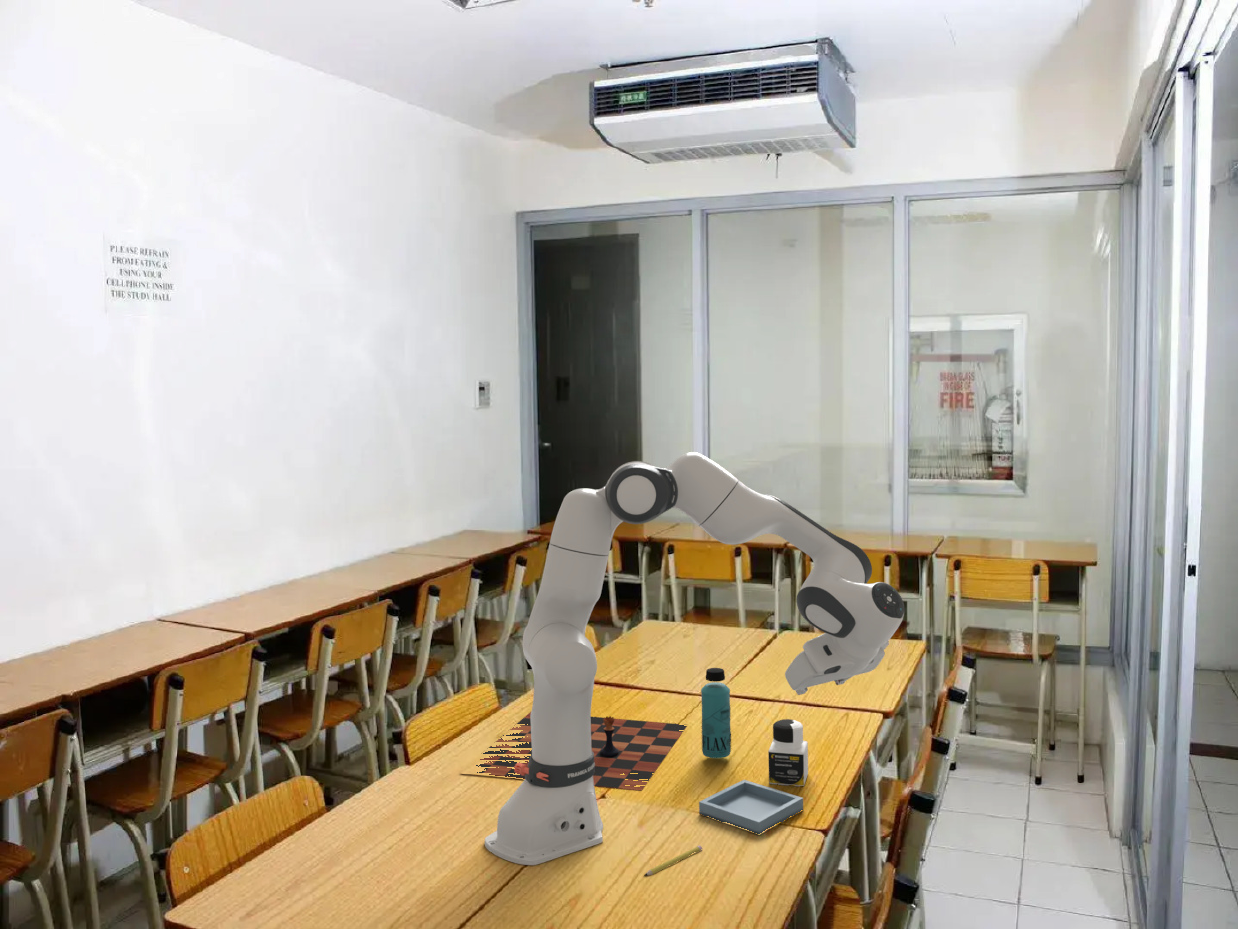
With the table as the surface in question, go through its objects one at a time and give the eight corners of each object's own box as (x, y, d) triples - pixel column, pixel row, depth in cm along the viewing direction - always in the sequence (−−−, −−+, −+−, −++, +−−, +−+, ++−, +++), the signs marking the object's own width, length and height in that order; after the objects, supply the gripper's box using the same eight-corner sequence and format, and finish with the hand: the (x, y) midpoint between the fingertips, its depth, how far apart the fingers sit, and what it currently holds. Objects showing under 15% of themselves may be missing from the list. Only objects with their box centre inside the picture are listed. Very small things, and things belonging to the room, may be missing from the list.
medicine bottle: (768, 784, 213) (767, 726, 211) (773, 771, 219) (772, 715, 218) (804, 787, 210) (803, 729, 209) (808, 774, 217) (807, 717, 216)
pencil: (641, 878, 176) (641, 872, 176) (698, 850, 185) (698, 844, 185) (645, 879, 175) (645, 874, 175) (702, 852, 184) (702, 846, 184)
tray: (759, 835, 189) (758, 822, 189) (699, 814, 199) (699, 801, 199) (803, 810, 199) (803, 798, 199) (744, 791, 209) (744, 779, 209)
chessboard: (460, 776, 223) (459, 725, 222) (531, 715, 261) (530, 672, 260) (641, 795, 211) (640, 742, 210) (687, 729, 249) (687, 684, 248)
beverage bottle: (696, 762, 225) (694, 671, 223) (708, 752, 231) (706, 663, 229) (725, 767, 222) (723, 675, 220) (736, 756, 228) (734, 666, 226)
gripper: (883, 624, 201) (852, 662, 210) (798, 643, 191) (768, 682, 201) (901, 651, 197) (868, 689, 207) (814, 673, 188) (784, 711, 197)
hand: (818, 686), depth 204 cm, fingers open, 8 cm apart
